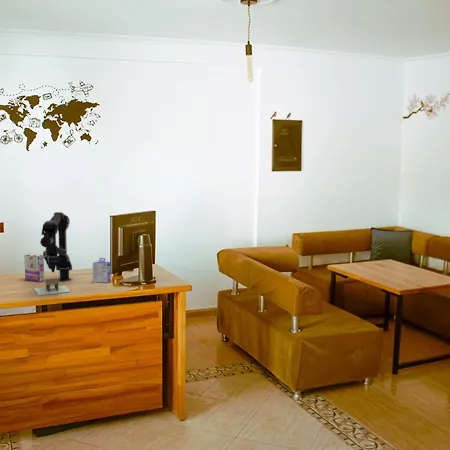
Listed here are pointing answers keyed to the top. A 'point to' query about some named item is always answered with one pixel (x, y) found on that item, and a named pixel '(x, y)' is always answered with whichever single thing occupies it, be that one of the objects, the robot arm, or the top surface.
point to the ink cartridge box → (102, 271)
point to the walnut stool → (51, 283)
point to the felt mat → (52, 290)
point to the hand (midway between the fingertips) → (51, 270)
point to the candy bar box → (34, 267)
